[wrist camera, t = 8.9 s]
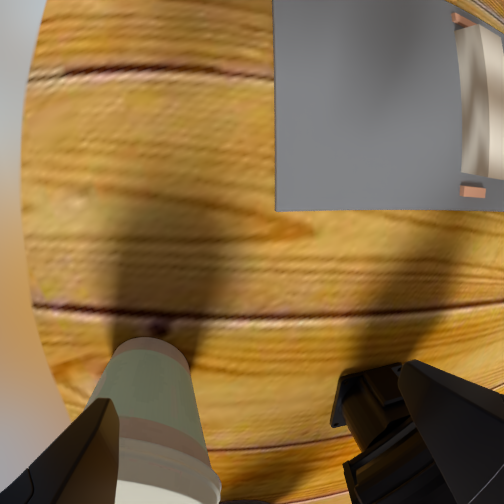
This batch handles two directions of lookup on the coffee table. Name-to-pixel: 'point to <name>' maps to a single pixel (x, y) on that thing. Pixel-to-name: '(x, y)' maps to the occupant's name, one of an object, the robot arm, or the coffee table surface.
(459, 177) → the mat
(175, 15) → the coffee table surface
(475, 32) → the t block
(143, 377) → the coffee cup
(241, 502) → the lantern
